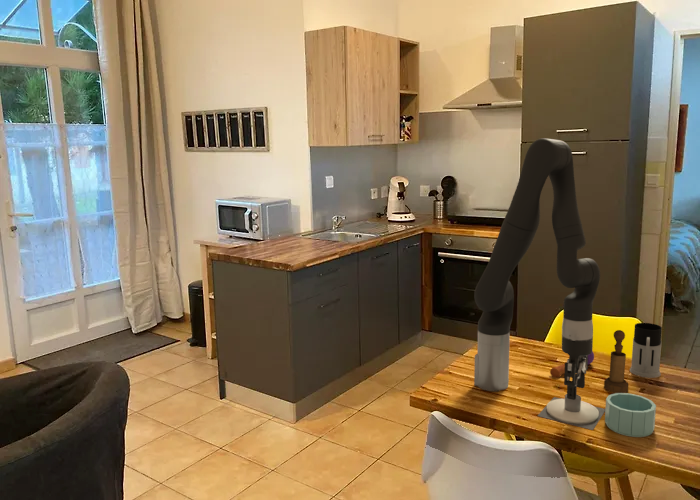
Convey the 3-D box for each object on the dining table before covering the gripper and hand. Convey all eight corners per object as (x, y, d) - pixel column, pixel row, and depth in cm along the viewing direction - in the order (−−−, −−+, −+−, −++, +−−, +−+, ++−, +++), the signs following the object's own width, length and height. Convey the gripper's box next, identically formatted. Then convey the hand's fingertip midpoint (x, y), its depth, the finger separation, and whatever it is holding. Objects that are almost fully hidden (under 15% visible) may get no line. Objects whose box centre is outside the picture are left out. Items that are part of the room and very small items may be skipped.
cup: (600, 431, 145) (602, 405, 144) (610, 414, 154) (612, 389, 153) (649, 443, 139) (651, 416, 137) (657, 425, 147) (658, 399, 146)
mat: (537, 417, 153) (537, 415, 153) (553, 398, 164) (554, 396, 164) (592, 431, 145) (592, 430, 145) (606, 410, 156) (606, 409, 156)
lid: (539, 415, 153) (540, 399, 152) (555, 398, 163) (555, 383, 162) (591, 428, 145) (592, 412, 145) (603, 409, 156) (604, 393, 155)
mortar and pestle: (630, 395, 165) (634, 334, 162) (606, 393, 166) (610, 333, 163) (624, 385, 172) (628, 327, 168) (601, 384, 173) (604, 326, 170)
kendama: (544, 363, 181) (579, 343, 193) (548, 381, 181) (582, 360, 193) (561, 365, 176) (595, 345, 188) (565, 383, 176) (598, 362, 188)
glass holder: (660, 369, 183) (663, 323, 180) (662, 386, 171) (665, 337, 168) (629, 365, 187) (632, 320, 184) (629, 381, 174) (632, 334, 172)
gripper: (569, 325, 159) (568, 381, 161) (554, 340, 147) (553, 399, 150) (598, 329, 154) (597, 386, 157) (585, 344, 143) (583, 406, 146)
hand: (575, 392), depth 153 cm, fingers open, 8 cm apart
